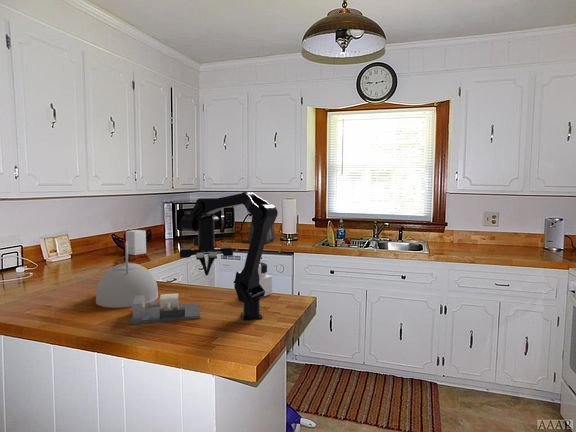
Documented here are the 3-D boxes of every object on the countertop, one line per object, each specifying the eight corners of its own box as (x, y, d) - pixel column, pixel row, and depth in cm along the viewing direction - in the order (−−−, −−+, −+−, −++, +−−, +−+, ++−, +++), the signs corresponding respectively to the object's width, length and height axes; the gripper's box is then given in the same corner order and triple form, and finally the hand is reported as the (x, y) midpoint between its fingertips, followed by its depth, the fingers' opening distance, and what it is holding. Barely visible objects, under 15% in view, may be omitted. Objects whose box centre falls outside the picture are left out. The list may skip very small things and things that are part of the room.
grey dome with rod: (98, 292, 161) (96, 238, 159) (155, 287, 169) (155, 236, 168) (93, 310, 138) (91, 248, 136) (160, 303, 146) (159, 244, 145)
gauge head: (178, 316, 129) (178, 301, 128) (146, 318, 126) (146, 303, 126) (178, 307, 138) (178, 293, 138) (148, 309, 135) (148, 295, 135)
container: (258, 290, 165) (258, 260, 164) (272, 294, 160) (272, 263, 159) (245, 294, 159) (245, 263, 158) (259, 298, 154) (259, 266, 153)
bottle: (266, 244, 291) (267, 204, 289) (247, 243, 297) (247, 204, 295) (276, 241, 308) (276, 203, 306) (257, 240, 314) (257, 203, 311)
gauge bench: (200, 318, 130) (200, 300, 130) (130, 324, 124) (129, 306, 124) (198, 305, 144) (198, 290, 143) (135, 310, 138) (134, 294, 137)
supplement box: (146, 253, 251) (146, 230, 250) (134, 255, 243) (134, 231, 242) (137, 252, 256) (137, 229, 254) (125, 254, 248) (125, 230, 247)
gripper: (229, 229, 150) (229, 269, 152) (179, 230, 145) (180, 271, 147) (233, 233, 140) (233, 275, 141) (179, 234, 135) (180, 278, 136)
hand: (206, 275), depth 141 cm, fingers closed
